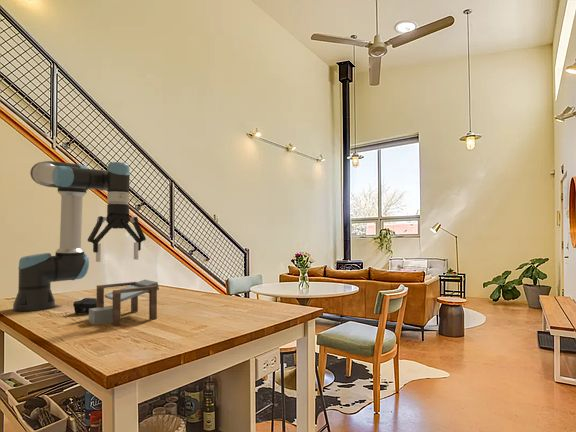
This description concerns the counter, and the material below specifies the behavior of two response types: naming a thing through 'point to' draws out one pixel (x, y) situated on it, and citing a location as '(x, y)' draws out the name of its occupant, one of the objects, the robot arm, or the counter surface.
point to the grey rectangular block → (101, 315)
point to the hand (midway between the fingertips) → (117, 260)
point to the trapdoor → (133, 294)
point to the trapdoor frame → (134, 300)
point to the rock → (84, 305)
